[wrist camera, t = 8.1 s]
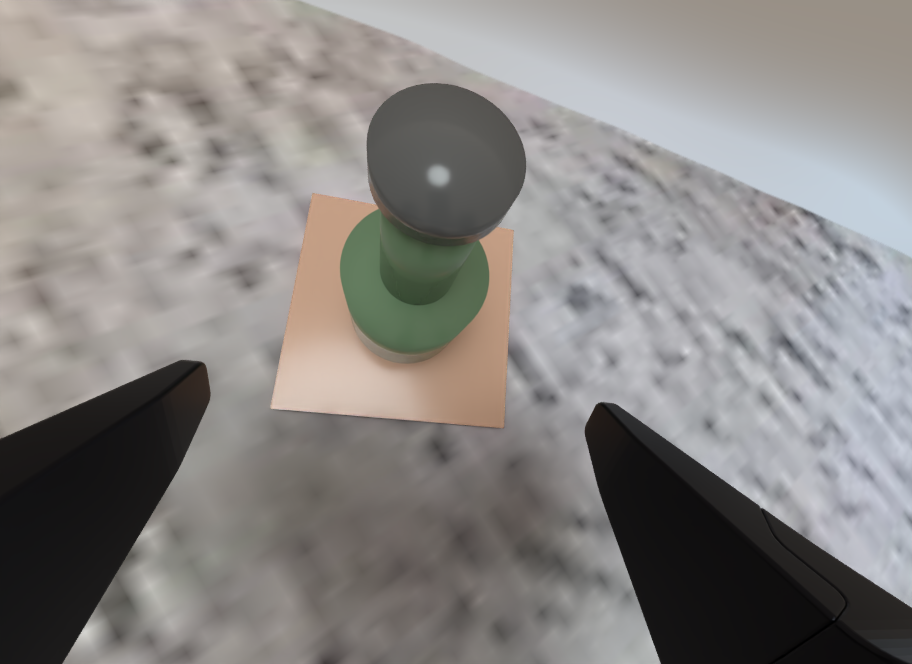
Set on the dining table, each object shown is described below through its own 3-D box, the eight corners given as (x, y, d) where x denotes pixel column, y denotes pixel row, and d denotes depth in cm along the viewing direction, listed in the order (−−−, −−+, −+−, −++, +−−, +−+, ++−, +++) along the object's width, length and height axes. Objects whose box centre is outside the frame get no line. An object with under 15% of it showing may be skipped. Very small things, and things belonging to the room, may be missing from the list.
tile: (500, 427, 21) (503, 428, 20) (273, 408, 19) (269, 408, 18) (510, 234, 24) (513, 230, 23) (314, 198, 22) (312, 193, 21)
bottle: (473, 284, 22) (599, 111, 9) (437, 379, 20) (533, 323, 8) (376, 243, 21) (374, -1, 9) (331, 338, 20) (252, 205, 7)
